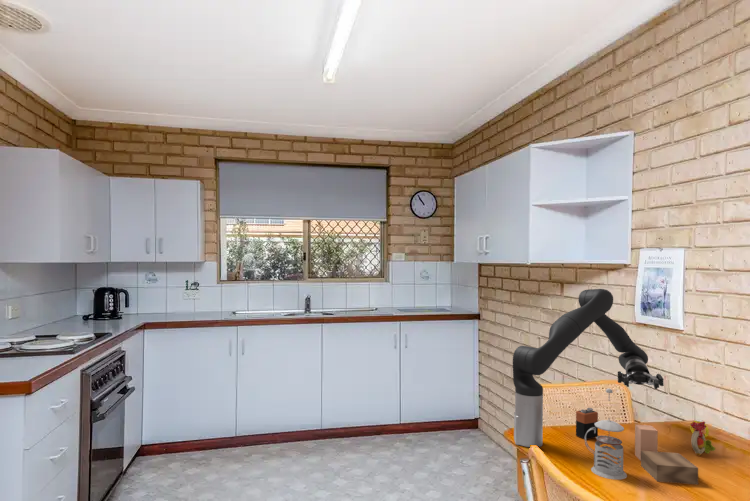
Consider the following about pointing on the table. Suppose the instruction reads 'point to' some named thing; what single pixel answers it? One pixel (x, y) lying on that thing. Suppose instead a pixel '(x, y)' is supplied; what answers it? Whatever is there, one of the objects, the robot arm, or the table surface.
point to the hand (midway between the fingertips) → (641, 385)
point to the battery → (586, 423)
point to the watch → (705, 428)
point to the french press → (608, 450)
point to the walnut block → (669, 467)
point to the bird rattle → (700, 439)
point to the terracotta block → (645, 439)
